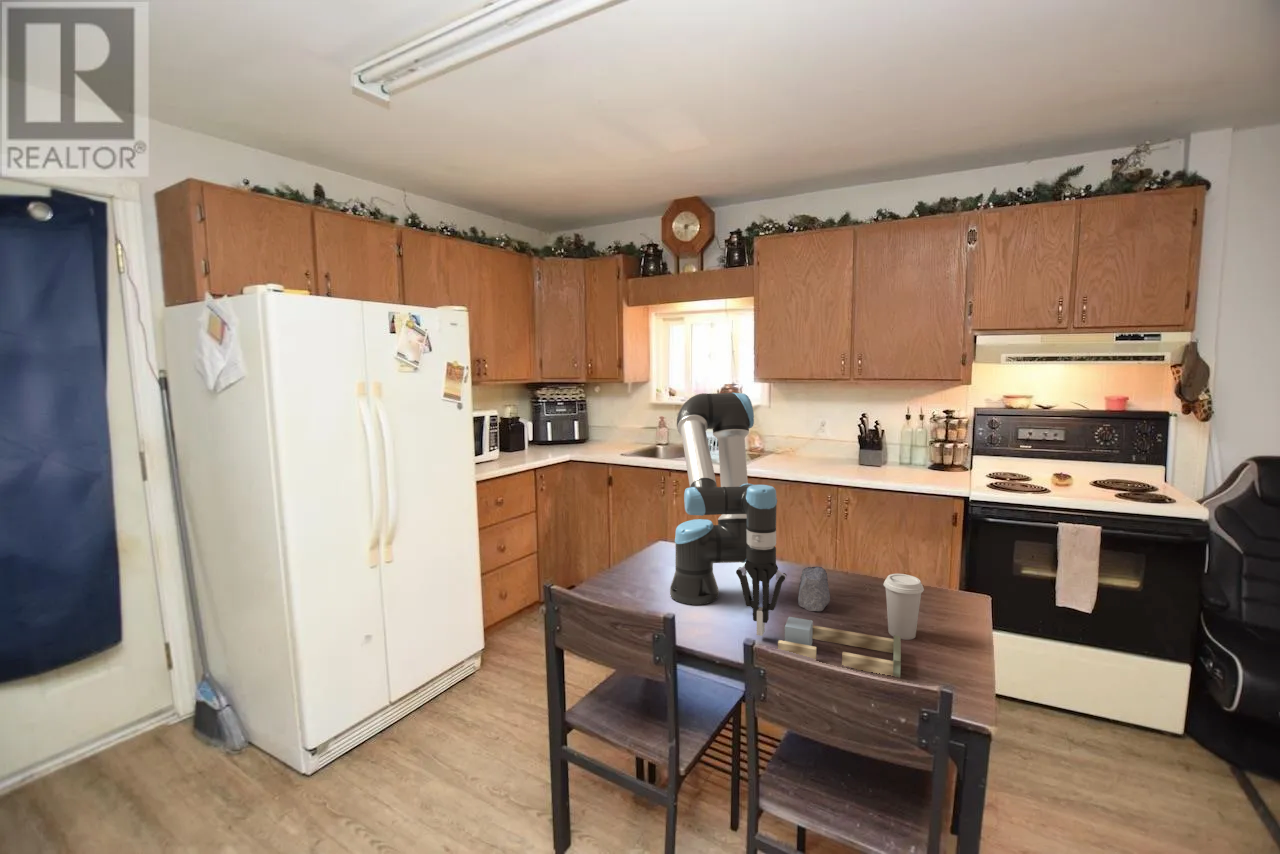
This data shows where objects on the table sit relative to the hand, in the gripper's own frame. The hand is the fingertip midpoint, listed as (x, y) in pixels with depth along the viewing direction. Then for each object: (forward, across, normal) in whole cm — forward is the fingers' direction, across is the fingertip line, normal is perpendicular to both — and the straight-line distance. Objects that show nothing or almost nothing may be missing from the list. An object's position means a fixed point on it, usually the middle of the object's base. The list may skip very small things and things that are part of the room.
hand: (760, 633), depth 146 cm
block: (+2, +10, 0) cm, 10 cm away
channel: (+2, +19, 0) cm, 19 cm away
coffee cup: (+2, +34, +17) cm, 38 cm away
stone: (+2, +10, +26) cm, 28 cm away
